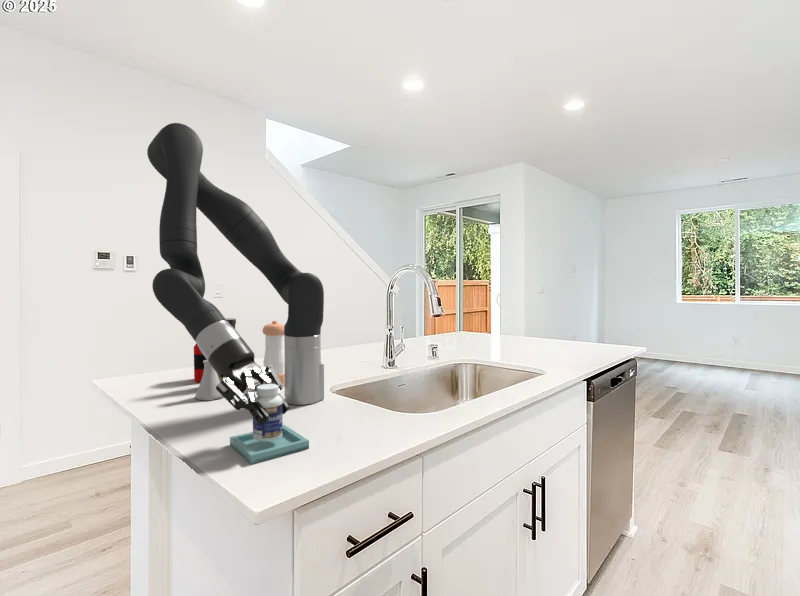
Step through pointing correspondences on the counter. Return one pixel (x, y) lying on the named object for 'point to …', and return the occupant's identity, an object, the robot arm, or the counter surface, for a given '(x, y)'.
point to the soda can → (198, 364)
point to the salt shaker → (275, 349)
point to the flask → (208, 384)
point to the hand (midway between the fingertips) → (275, 416)
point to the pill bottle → (269, 413)
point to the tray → (268, 445)
